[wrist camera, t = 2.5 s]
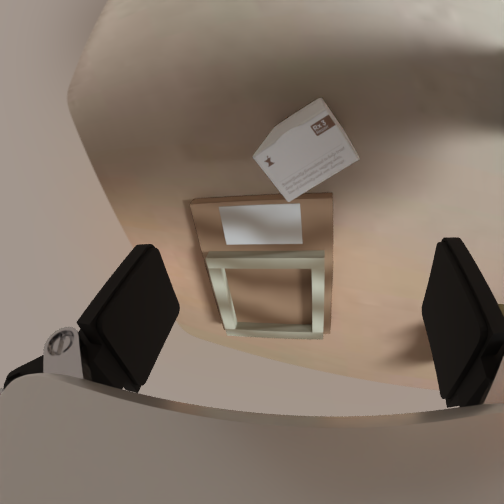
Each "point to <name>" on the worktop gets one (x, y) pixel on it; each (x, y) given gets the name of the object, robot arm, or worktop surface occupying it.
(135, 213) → the worktop surface
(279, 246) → the framed base plate
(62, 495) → the robot arm
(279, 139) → the skincare box
